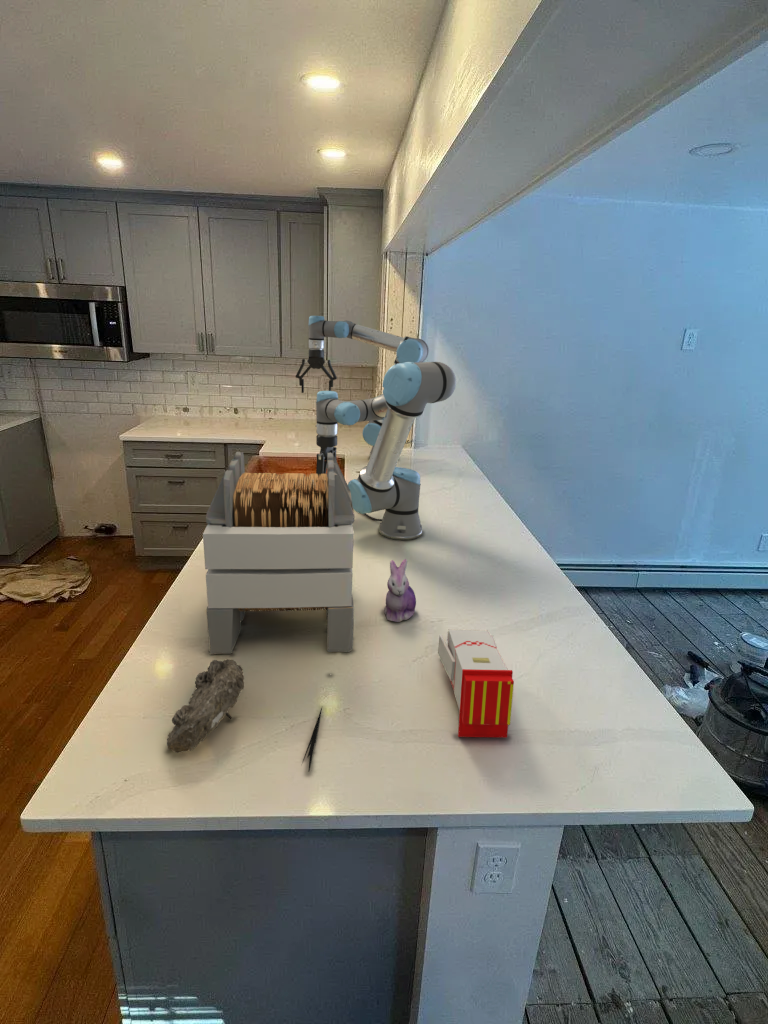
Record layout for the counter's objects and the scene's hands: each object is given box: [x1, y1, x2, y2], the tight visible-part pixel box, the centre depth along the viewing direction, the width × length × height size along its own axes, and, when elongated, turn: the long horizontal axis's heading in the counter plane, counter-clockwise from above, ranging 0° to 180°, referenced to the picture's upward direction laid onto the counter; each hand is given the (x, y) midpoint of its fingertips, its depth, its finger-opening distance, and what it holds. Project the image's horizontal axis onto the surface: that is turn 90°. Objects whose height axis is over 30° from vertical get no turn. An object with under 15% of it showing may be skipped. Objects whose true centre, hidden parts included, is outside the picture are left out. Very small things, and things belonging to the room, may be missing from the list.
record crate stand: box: [202, 451, 355, 655], centre depth 137 cm, size 34×33×41 cm
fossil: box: [166, 658, 245, 754], centre depth 106 cm, size 22×10×15 cm
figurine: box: [384, 558, 417, 623], centre depth 145 cm, size 9×10×15 cm
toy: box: [437, 628, 515, 738], centre depth 117 cm, size 12×13×30 cm
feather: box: [301, 673, 332, 771], centre depth 108 cm, size 2×28×2 cm
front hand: (326, 494), depth 212 cm, fingers closed on tin, 8 cm apart
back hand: (316, 393), depth 284 cm, fingers open, 13 cm apart
